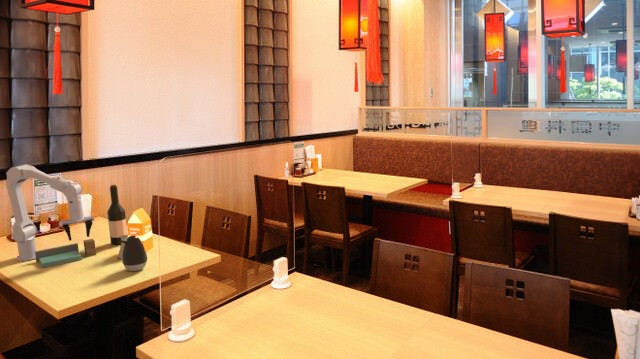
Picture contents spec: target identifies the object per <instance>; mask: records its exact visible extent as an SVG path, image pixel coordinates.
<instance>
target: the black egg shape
mask: <svg viewBox="0 0 640 359" xmlns="http://www.w3.org/2000/svg"><path fill="white" fill-rule="evenodd" d="M121 243H125V244H124V248H123V254H122V259H121V260H122V261H121V262H122V265H123V266H124V268H125V269H126V270H127V271H129V272H139V271H141V270H143V269H144V268H145V267H146V265H147V261H148V255H147V254H148V253H147V252H146V250H145V248H144V245H143V243H142V242H141V240H140V239H139V237H137V236H135V235H131V236H129V237H128V238H127V239H126V240H121Z"/></svg>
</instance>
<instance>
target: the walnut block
mask: <svg viewBox="0 0 640 359" xmlns="http://www.w3.org/2000/svg"><path fill="white" fill-rule="evenodd" d="M83 247H84V248H83V249H84V255H85V256H86V257H93V256H97V250H96V242H95V239H93V238H89V239H85V240H84V239H83Z"/></svg>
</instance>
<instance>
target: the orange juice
mask: <svg viewBox="0 0 640 359" xmlns="http://www.w3.org/2000/svg"><path fill="white" fill-rule="evenodd" d="M126 225H127V235H128V237H129V236H131V235H135V236H137V237H139V239H140V240H141V242H142V243H143V245H144V248H145V250H146V253H147V252H149V251H150V250H152V249H153V248H154V241H153V228H152V219H151V217H150V215H148V214H147V212H146V211H145V209H144V208H143V207H141V208H138V209H137V210H134V211H132V214H131V216H130V218H129V219H128V222H126Z"/></svg>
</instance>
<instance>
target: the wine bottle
mask: <svg viewBox="0 0 640 359" xmlns="http://www.w3.org/2000/svg"><path fill="white" fill-rule="evenodd" d="M109 190H110V191H109V192H110V200H111V203H110V205H109V208H108V210H107V211H106V212H107V214H106V215H107V220H108V221H107V222H108V230H109V237H110V238H109V239H110V244H111V245H112V246H114V247H115V246H121V238H120V237H121V236H123V235H127V236H128V229H127V218H126V210H125V209H124V208H123V206H122V205H121V204H120V202H119V201H120V200H119V192H118V186H117V185H116V184H110V186H109ZM127 238H128V237H127Z"/></svg>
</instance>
